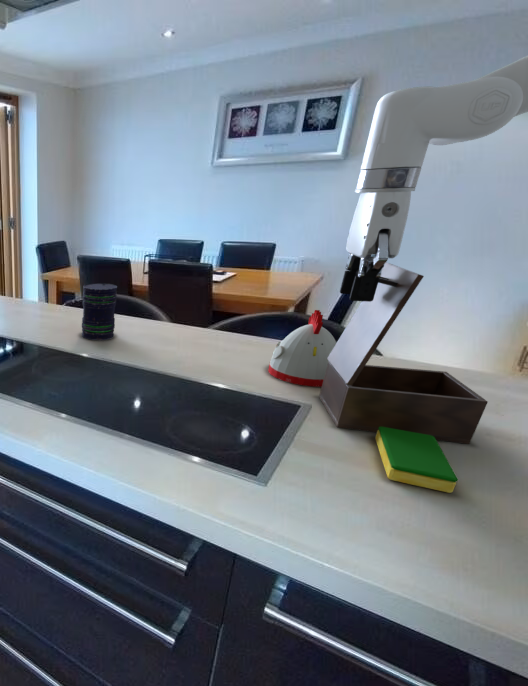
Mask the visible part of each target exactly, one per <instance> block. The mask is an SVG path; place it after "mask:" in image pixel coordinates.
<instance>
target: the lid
mask: <svg viewBox="0 0 528 686" xmlns="http://www.w3.org/2000/svg"><path fill="white" fill-rule="evenodd" d="M358 273H359V270H357V271H356V273H355V276H358ZM423 278H424V275H423V274H420V273H417V272H414V271H412V270H409V269H406V268H403V267H401V266H398V265H395V264H393V263H390V262H386V263H385V264H384V267H383V268H382V273H381V276H380V278H379V282H378V285H377V288H376V292H375V295H374V299H373V301H371V302H368V301H360V303H359V305H358V307H357V308H356V310H355V312H354V314H353V315H352V317H351V319H350V320H349V321H348V323H347V325H346V327H345V328H344V330H343V332H342V333H341V334H340V337H339V338H338V339H337V340H336V345H335V346H334V348H333V350H332V351H331V353H330V355H329V356H328V358H327V359H328V361H329V362H330V363H331V364H332V366H333V367H334V368H335V370H336V371H337V372H338V373H339V375H340V376H341V377H342V379H343V380H344V381H345V382H346V384H347V385H351V386H352V385H353V383H354V382H355V380H356V379H357V377H358V375H359V374H360V372H361V371H362V369H363V368H364V366H365V365H367V363H368V362H369V360H370V359H371V358H372V356H373V354H374V353H375V352H376V350H377V348H378V347H379V345H380V343H382V341H383V339H384V338H385V336H386V335H387V333H388V332H389V330H390V329H391V327H392V325H393V324H394V323H395V321H396V320H397V318H398V317H399V315H400V313H401V312H402V310H403V309H404V308H405V306H406V304H407V303H408V301H409V300H410V299H411V297H412V295H413V294H414V292H415V291H416V289H417V288H418V286H419V285H420V283H421V282H422V280H423Z"/></svg>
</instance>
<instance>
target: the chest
mask: <svg viewBox="0 0 528 686" xmlns="http://www.w3.org/2000/svg"><path fill="white" fill-rule="evenodd" d="M318 398H319V399H320V402H321V403H322V405H323V407H324V408H325V410H326V412H327V413H328V415H329V416H330V418H331V420H332V422H333V423H334V425H335V427H336V428H340V429H348V430H355V431H362V432H371V433H377V431H378V430H379V429H378V428H379V427H387V428H393V429H398V430H404V431H409V432H415V433H421V434H426V435H431V436H434V437H435V439H436V441H441V442H442V441H443V442H451V443H459V444H465V445H470V444H471V441H472V439H473V437H474V435H475V432H476V430H477V427H478V426H479V424H480V420H481V419H482V416H483V414H484V412H485V409H486V408H487V405H488V402H489V401H488V400H486V399H485V398H484V397H482V396H481V395H479V394H478V393H477V392H476V391H474V390H472V388H470V387H468V386H467V385H466V384H464V383H463V382H461V381H460V380H458V379H457V378H456V377H455V376H453V375H452V374H450V373H449V372H448V371H442V370H431V369H418V368H407V367H395V366H384V365H374V364H373V365H371V364H366V365H365V366H364V368H363V369H362V371H361V372H360V374H359V375H358V377H357V379H356V380H355V382H354V383H353V385H352V386H351V385H347V384H346V382H345V381H344V380H343V379H342V377H341V376H340V375H339V373H338V372H337V371H336V370H335V368H334V367H333V366H332V364H331V363H330V362H328V365H327V369H326V373H325V376H324V380H323V384H322V387H320V391H319V396H318Z"/></svg>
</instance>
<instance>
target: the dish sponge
mask: <svg viewBox="0 0 528 686" xmlns="http://www.w3.org/2000/svg"><path fill="white" fill-rule="evenodd" d="M378 429H379V430H378V431H377V432H376V434H375V438H374V439H375V442H376V445H377V448H378V452H379V455H380V458H381V461H382V464H383V468H384V470H385V474H386V477H387V479H389V480H391V481H395V482H399V483H403V484H408V485H413V486H417V487H421V488H426V489H431V490H435V491H439V492H444V493H448V494H450V493H453V492H454V490H455V487H456V486H457V482H458V480H459V478H458V476H457V475H456V473H455V471H454V469H453V468H452V466H451V464H450V462H449V459H448V458H447V456H446V455H445V453H444V451H443V449H442V448H441V446H440V444H439V442H438V440H436V439H435V437H434V436H431V435H426V434H421V433H415V432H409V431H404V430H398V429H393V428H387V427H379V428H378Z"/></svg>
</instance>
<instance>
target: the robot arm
mask: <svg viewBox="0 0 528 686" xmlns="http://www.w3.org/2000/svg"><path fill="white" fill-rule="evenodd" d="M525 113H528V55H526V56H523V57H521V58H519V59H517V60H515V61H513V62H511V63H509V64H506V65H503V66H502V67H500V68H498V69H495V70H493V71H491V72H489V73H487V74H484V75H482V76H480V77H478V78H476V79H473V80H468V81H464V82H459V83H454V84H448V85H442V86H414V87H413V86H412V87H408V88H407V87H406V88H401V89H397V90H393V91H390V92H387V93H385V94H384V95H382V97H380V99H379V100H378V101H377V102H376V105H375V109H374V112H373V116H372V121H371V125H370V128H369V132H368V137H367V141H366V145H365V149H364V154H363V157H362V161H361V164H360V170H359V173H358V178H357V182H356V185H355V189H354V193H355V194H359V197H358V201H357V204H356V207H355V210H354V213H353V217H352V220H351V222H350V223H351V224H350V227H349V231H348V235H347V240H346V245H345V250H346V252H348V253H349V255H348V258H347V262H346V265H345V271H344V273H343V276H342V281H341V283H340V288H339V293H340V294H342V295H349V300H350V301H351V302H362V301H368V302H371V301H373V299H374V295H375V292H376V288H377V285H378V282H379V278H380V276H381V273H382V268H383V267H384V264H385V263H388V260H389V259H394V258H396V257H397V256H398V255H399V252H400V249H401V244H402V241H403V238H404V234H405V228H406V225H407V221H408V216H409V211H410V206H411V198H412V192H415V191H416V188H417V185H418V182H419V178H420V174H421V171H422V167H423V164H424V161H425V158H426V155H427V152H428V147H429V145H433V146H447V145H453V144H457V143H464V142H468V141H475V140H478V139H482V138H485V137H487V136H489V135H492V134H494V133H495V132H498V131H499V130H500V129H503V128H504V127H505V126H506V125H507V124H509V123H510V122H511V120H513V119H514V118H515V117H517V116H521V115H523V114H525ZM372 255H374V256H372ZM357 270H359V273H358V276H355V273H356V271H357Z"/></svg>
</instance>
